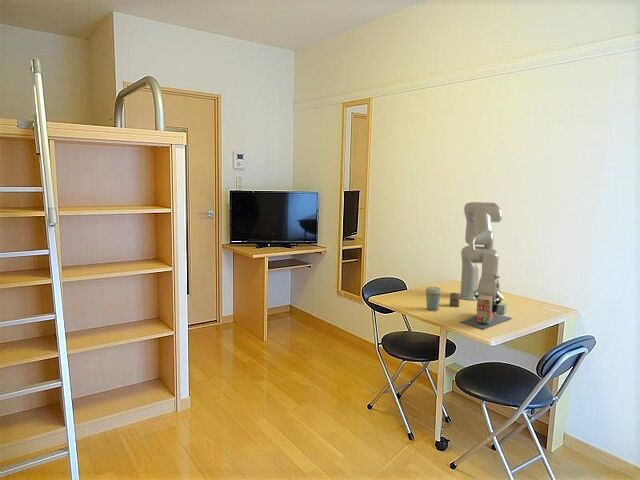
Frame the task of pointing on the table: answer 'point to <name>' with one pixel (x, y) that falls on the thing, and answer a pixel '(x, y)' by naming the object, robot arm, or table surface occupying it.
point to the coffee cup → (433, 298)
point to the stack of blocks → (485, 309)
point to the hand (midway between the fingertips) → (486, 309)
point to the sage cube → (502, 308)
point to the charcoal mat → (496, 320)
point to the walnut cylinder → (454, 299)
